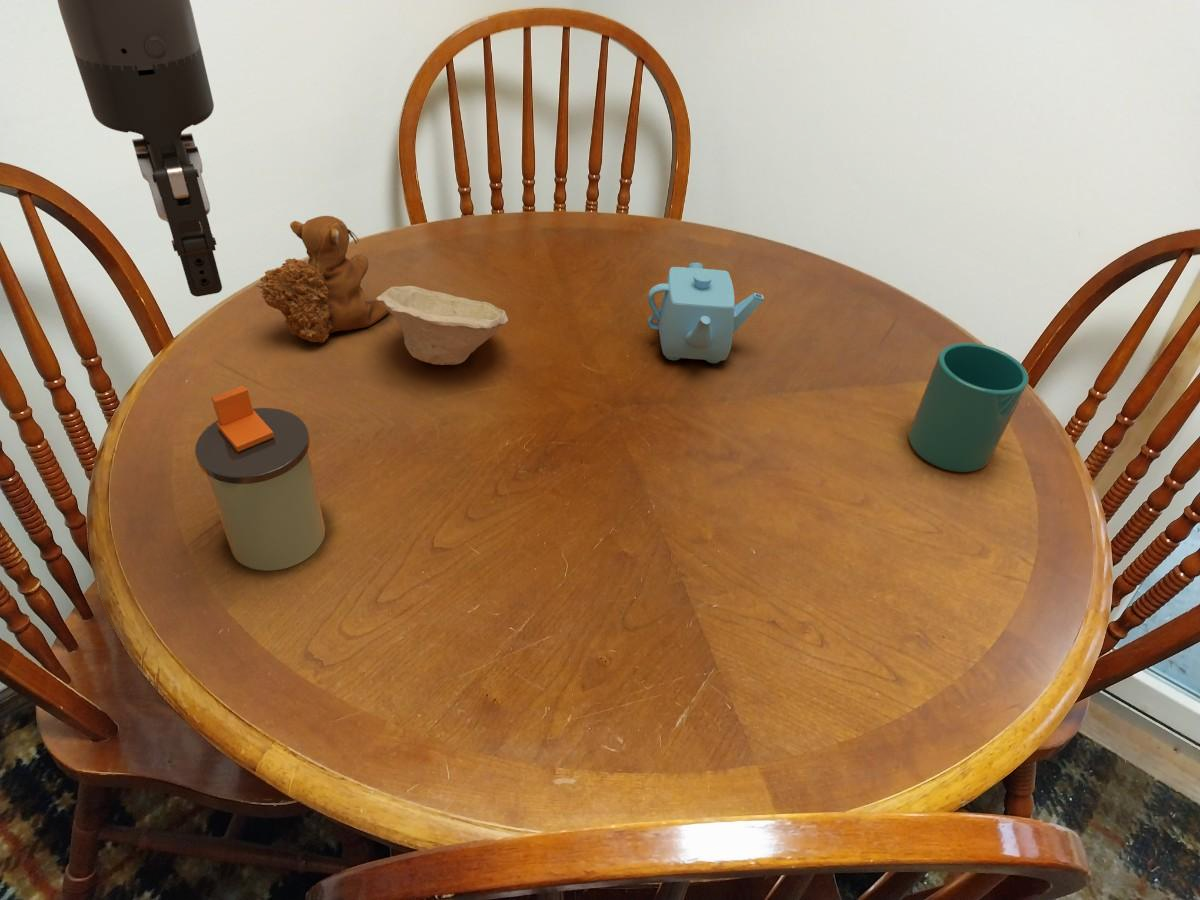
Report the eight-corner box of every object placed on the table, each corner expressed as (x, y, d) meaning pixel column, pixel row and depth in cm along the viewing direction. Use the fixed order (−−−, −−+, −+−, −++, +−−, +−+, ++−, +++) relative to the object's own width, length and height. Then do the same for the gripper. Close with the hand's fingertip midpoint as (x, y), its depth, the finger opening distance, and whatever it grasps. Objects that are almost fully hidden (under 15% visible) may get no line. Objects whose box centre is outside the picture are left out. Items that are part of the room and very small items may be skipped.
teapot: (642, 305, 114) (649, 236, 107) (745, 313, 114) (759, 245, 108) (642, 385, 100) (651, 312, 94) (760, 394, 101) (777, 321, 94)
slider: (217, 427, 72) (208, 398, 70) (253, 413, 74) (245, 384, 72) (237, 452, 70) (229, 422, 68) (274, 437, 72) (267, 407, 69)
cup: (973, 411, 101) (1009, 332, 93) (998, 479, 92) (1040, 397, 84) (896, 403, 101) (926, 323, 94) (914, 469, 92) (948, 387, 85)
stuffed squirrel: (396, 310, 109) (386, 214, 101) (322, 364, 99) (303, 264, 91) (335, 288, 112) (319, 194, 104) (257, 338, 102) (233, 239, 94)
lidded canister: (210, 530, 79) (176, 433, 71) (300, 489, 84) (278, 394, 76) (253, 589, 74) (222, 492, 66) (346, 542, 79) (327, 446, 71)
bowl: (529, 344, 105) (530, 272, 99) (470, 405, 96) (466, 330, 89) (427, 311, 110) (421, 240, 103) (360, 365, 100) (349, 291, 93)
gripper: (65, 15, 58) (135, 233, 69) (78, 83, 49) (156, 322, 59) (183, 9, 61) (232, 218, 72) (216, 72, 52) (267, 302, 62)
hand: (198, 265), depth 65 cm, fingers open, 8 cm apart
